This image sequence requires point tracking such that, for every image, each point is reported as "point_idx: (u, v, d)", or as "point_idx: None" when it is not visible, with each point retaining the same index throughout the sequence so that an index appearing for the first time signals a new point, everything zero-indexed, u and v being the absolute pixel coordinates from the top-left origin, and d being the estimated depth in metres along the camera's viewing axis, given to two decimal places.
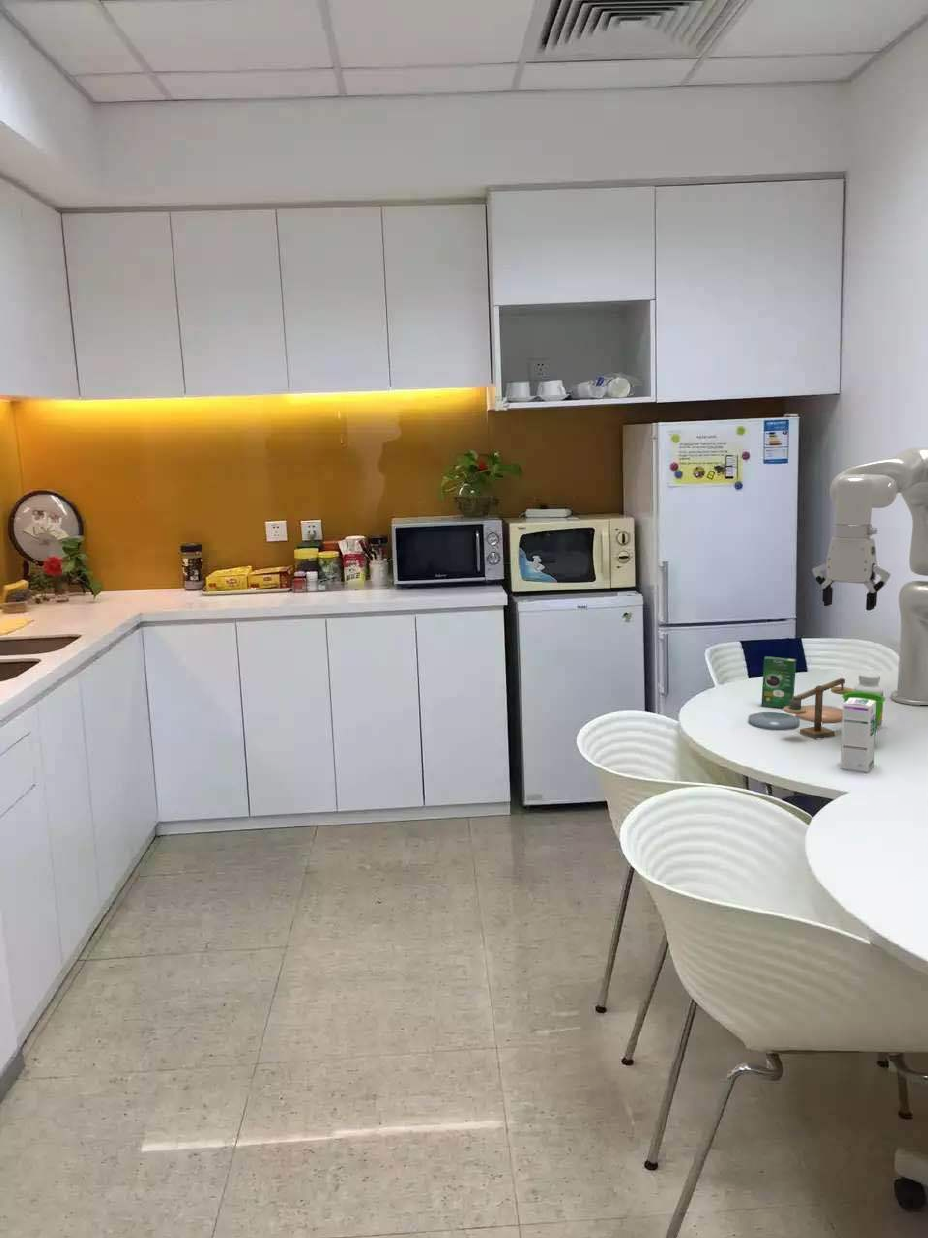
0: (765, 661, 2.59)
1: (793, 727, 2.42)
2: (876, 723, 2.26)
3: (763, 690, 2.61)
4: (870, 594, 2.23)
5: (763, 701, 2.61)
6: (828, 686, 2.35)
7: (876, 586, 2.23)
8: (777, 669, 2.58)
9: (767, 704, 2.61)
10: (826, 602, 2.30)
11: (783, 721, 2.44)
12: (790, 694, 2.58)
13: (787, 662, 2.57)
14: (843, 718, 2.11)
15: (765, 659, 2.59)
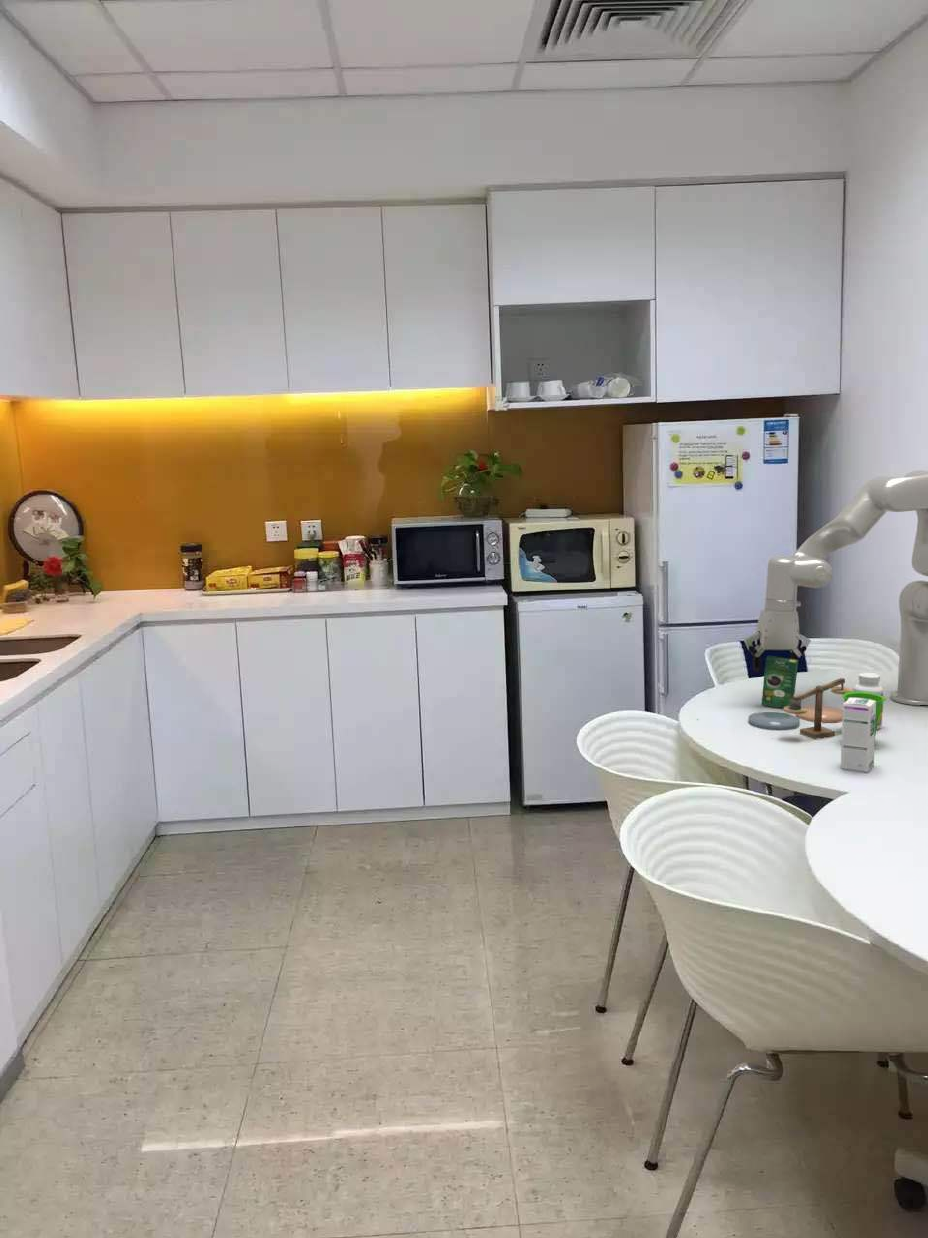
0: (767, 661, 2.58)
1: (793, 727, 2.42)
2: (876, 723, 2.26)
3: (764, 689, 2.60)
4: None
5: (763, 700, 2.61)
6: (828, 686, 2.35)
7: (801, 651, 2.58)
8: (778, 670, 2.57)
9: (767, 703, 2.61)
10: (760, 668, 2.57)
11: (783, 721, 2.44)
12: (790, 695, 2.58)
13: (789, 663, 2.56)
14: (843, 718, 2.11)
15: (767, 659, 2.58)
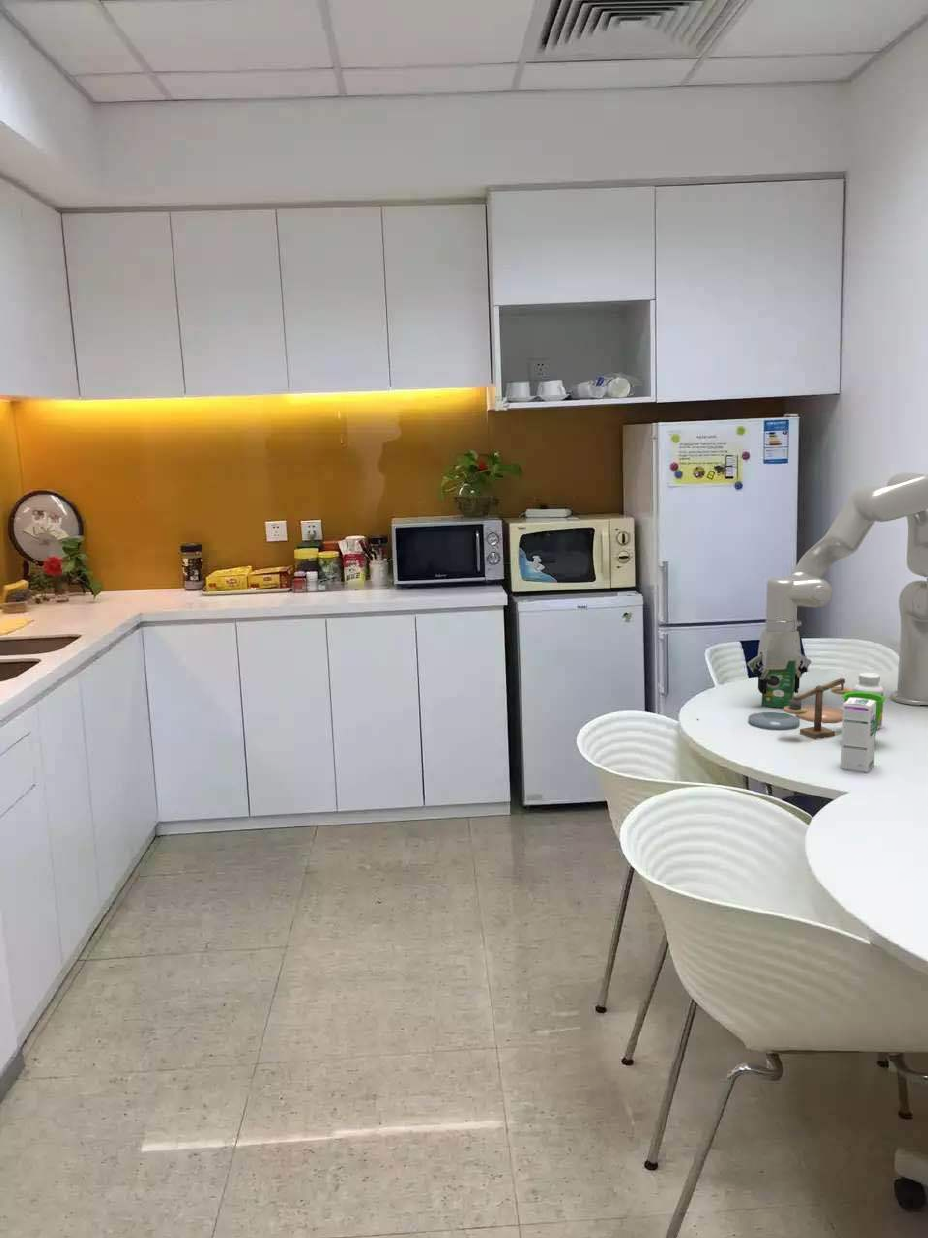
0: None
1: (793, 727, 2.42)
2: (876, 723, 2.26)
3: None
4: None
5: (763, 701, 2.61)
6: (828, 686, 2.35)
7: (801, 671, 2.59)
8: None
9: (767, 704, 2.61)
10: (765, 691, 2.59)
11: (783, 721, 2.44)
12: (790, 694, 2.58)
13: None
14: (843, 718, 2.11)
15: None
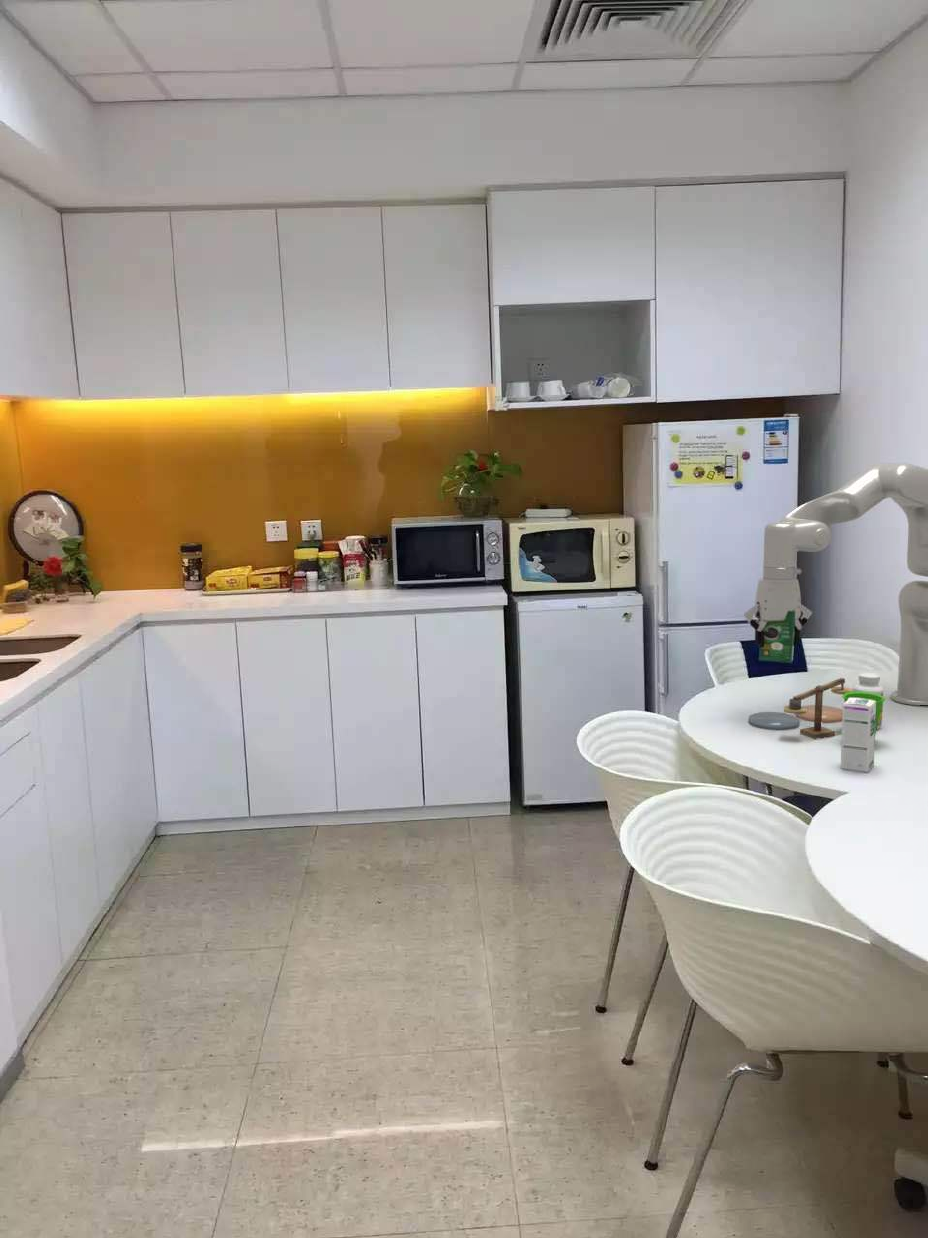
0: None
1: (793, 727, 2.42)
2: (876, 723, 2.26)
3: None
4: None
5: (761, 655, 2.44)
6: (828, 686, 2.35)
7: (801, 623, 2.42)
8: None
9: (765, 658, 2.44)
10: (763, 643, 2.41)
11: (783, 721, 2.44)
12: (789, 647, 2.41)
13: None
14: (843, 718, 2.11)
15: None
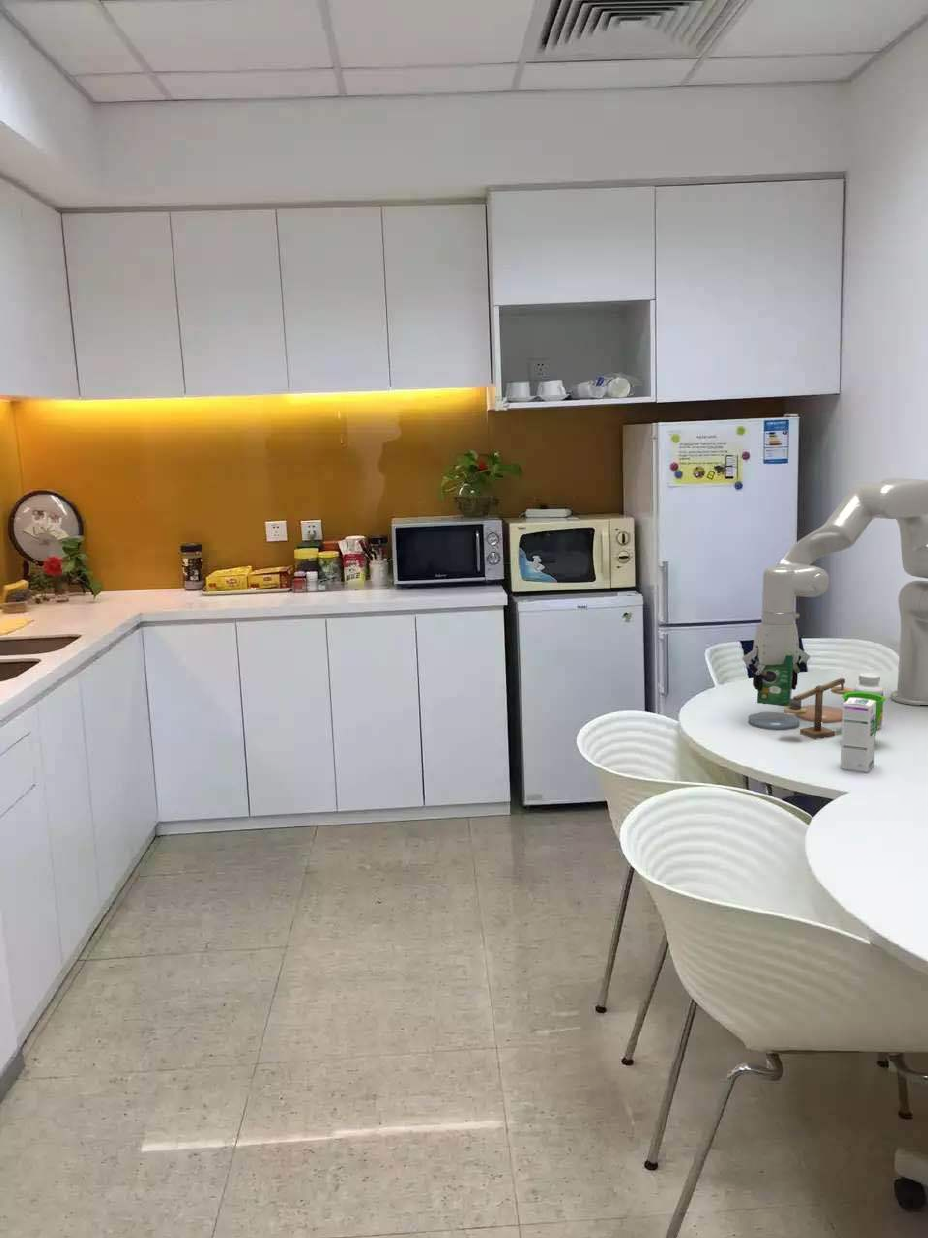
0: None
1: (793, 727, 2.42)
2: (876, 723, 2.26)
3: None
4: None
5: (759, 698, 2.46)
6: (828, 686, 2.35)
7: (799, 667, 2.44)
8: None
9: (763, 701, 2.46)
10: (761, 687, 2.43)
11: (783, 721, 2.44)
12: (787, 691, 2.43)
13: (785, 657, 2.42)
14: (843, 718, 2.11)
15: None
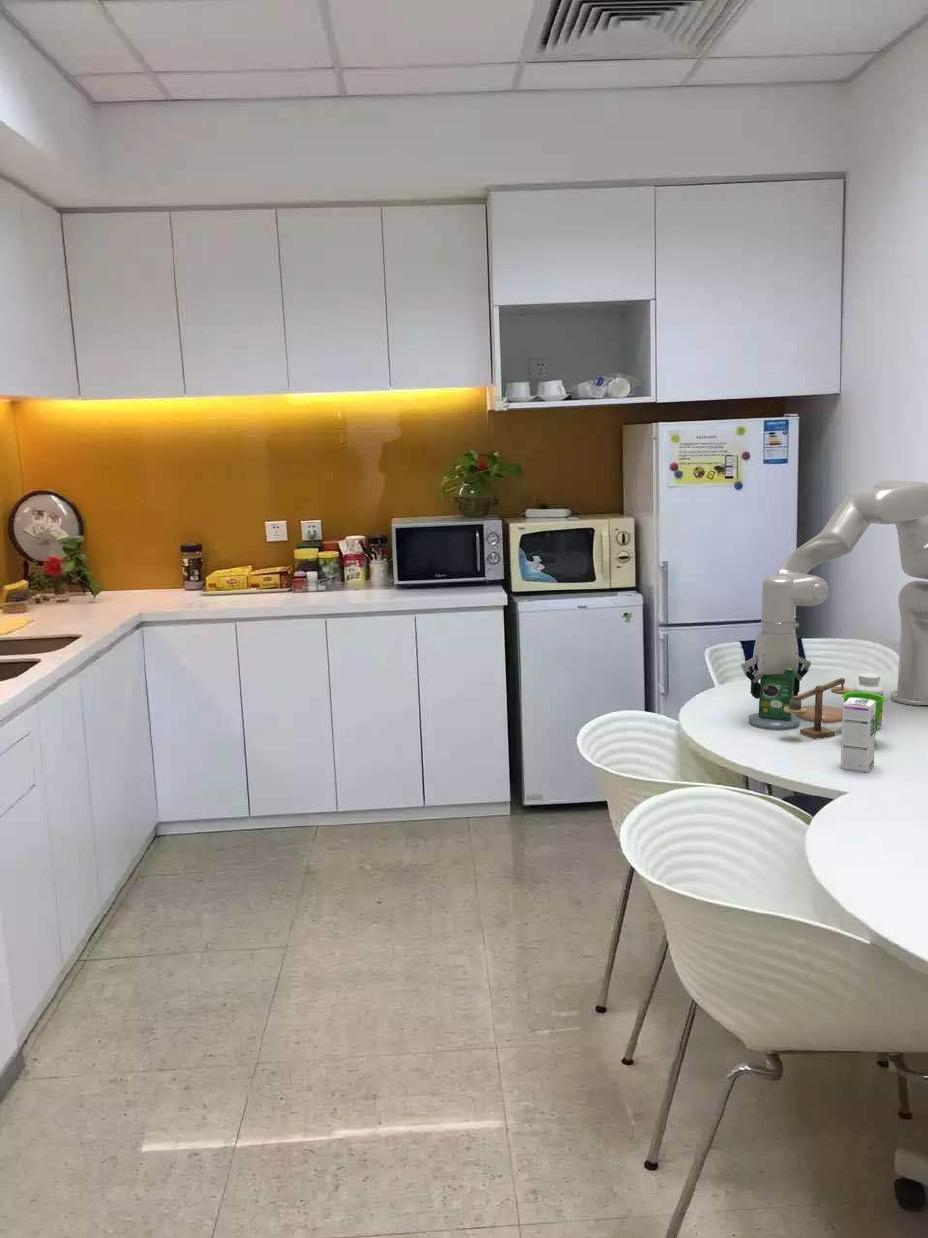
0: None
1: (793, 727, 2.42)
2: (876, 723, 2.26)
3: (760, 700, 2.47)
4: None
5: (760, 712, 2.47)
6: (828, 686, 2.35)
7: (801, 674, 2.45)
8: (774, 678, 2.44)
9: (764, 715, 2.47)
10: (759, 695, 2.44)
11: (783, 721, 2.44)
12: (788, 705, 2.43)
13: (786, 671, 2.42)
14: (843, 718, 2.11)
15: None
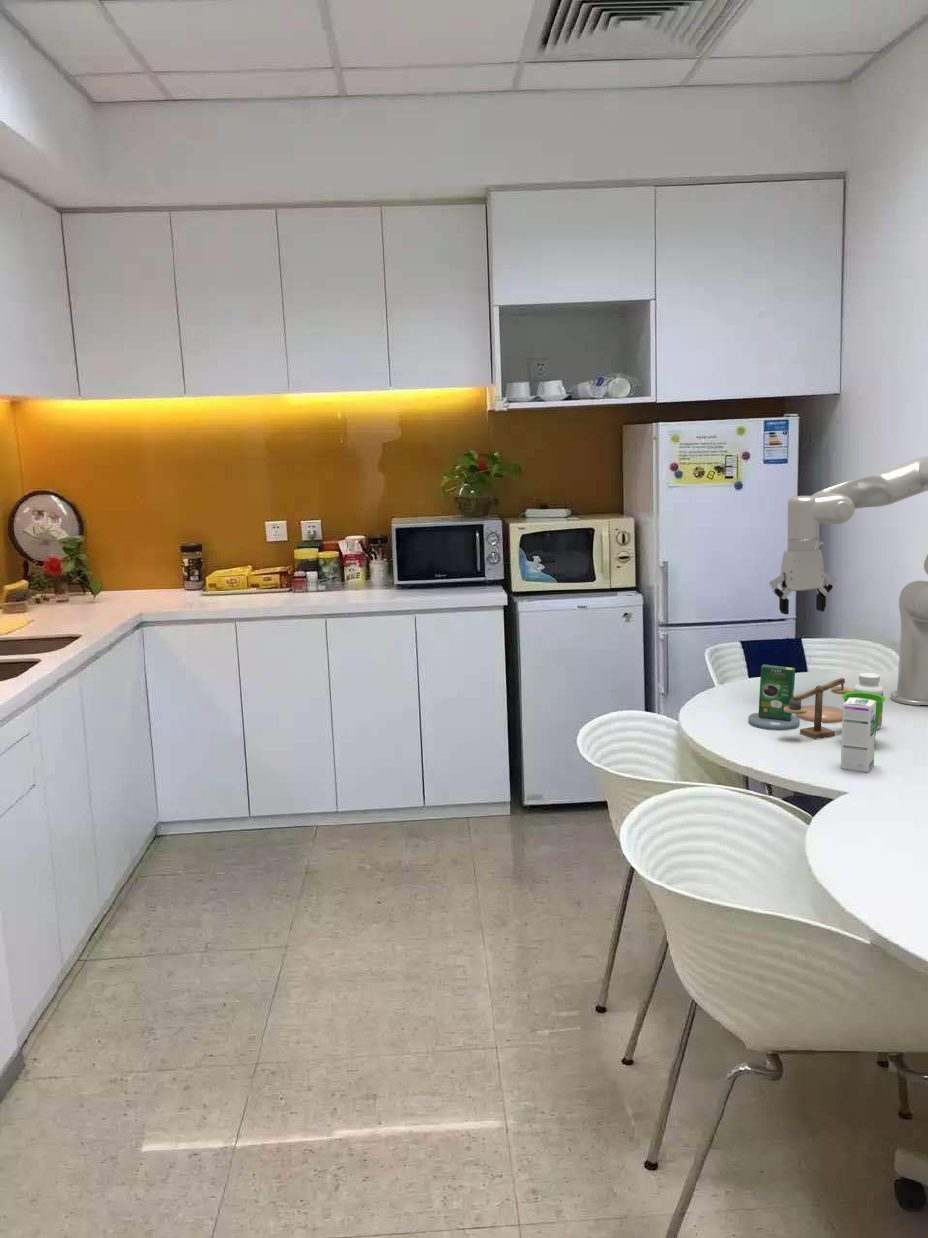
0: (763, 670, 2.45)
1: (793, 727, 2.42)
2: (876, 723, 2.26)
3: (760, 700, 2.47)
4: None
5: (760, 712, 2.47)
6: (828, 686, 2.35)
7: (827, 589, 2.55)
8: (774, 678, 2.44)
9: (764, 715, 2.47)
10: (788, 610, 2.54)
11: (783, 721, 2.44)
12: (788, 705, 2.43)
13: (786, 671, 2.42)
14: (843, 718, 2.11)
15: (762, 667, 2.45)
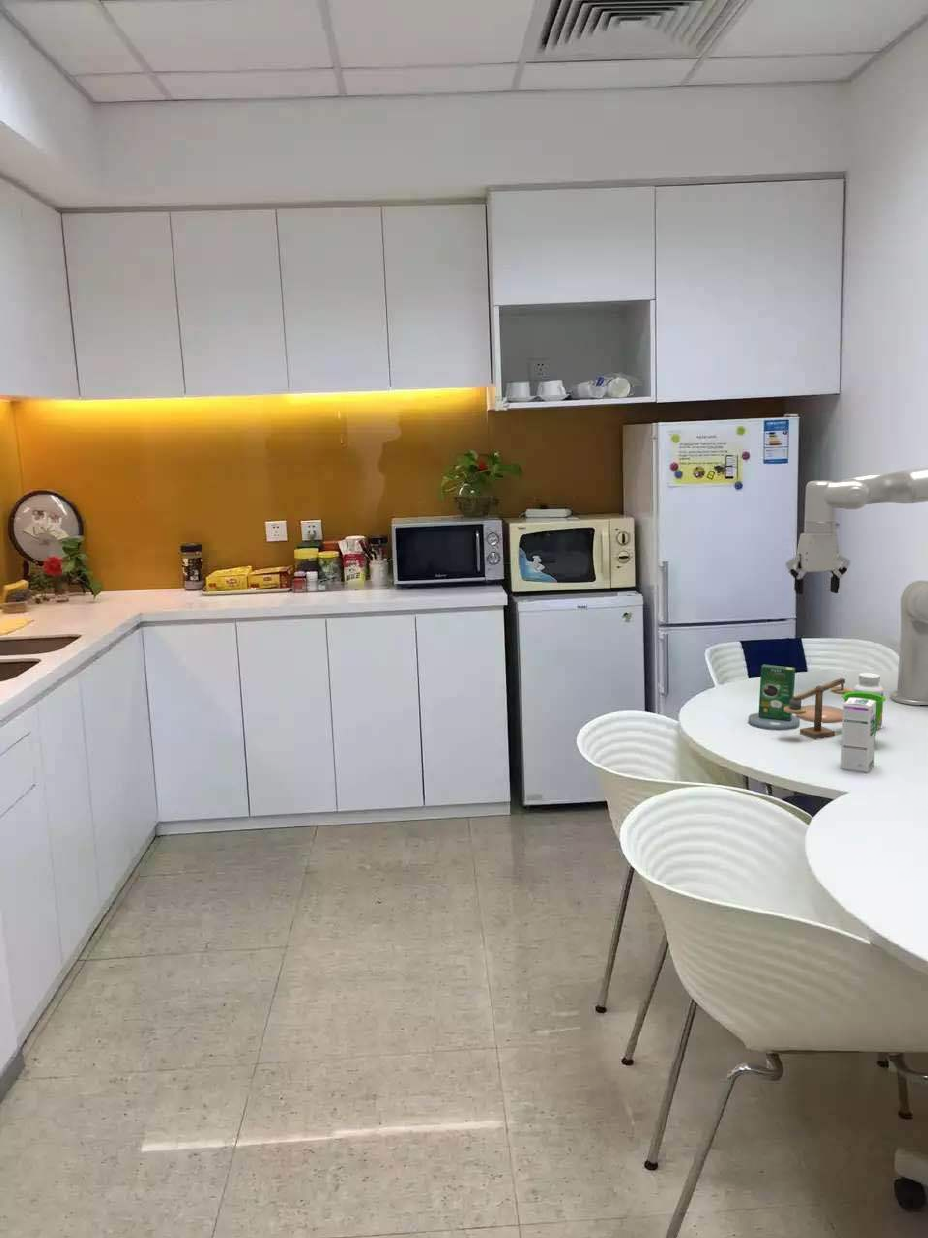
0: (763, 670, 2.45)
1: (793, 727, 2.42)
2: (876, 723, 2.26)
3: (760, 700, 2.47)
4: None
5: (760, 712, 2.47)
6: (828, 686, 2.35)
7: (841, 572, 2.64)
8: (774, 678, 2.44)
9: (764, 715, 2.47)
10: (802, 591, 2.63)
11: (783, 721, 2.44)
12: (788, 705, 2.43)
13: (786, 671, 2.42)
14: (843, 718, 2.11)
15: (762, 667, 2.45)
